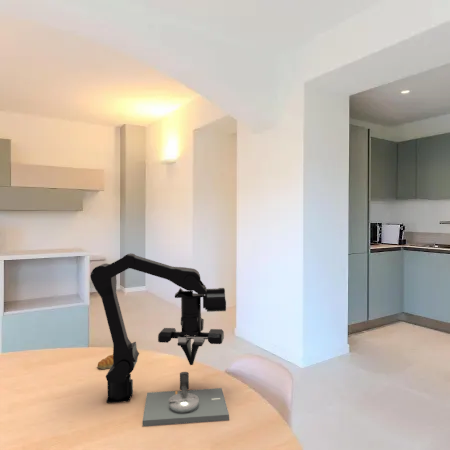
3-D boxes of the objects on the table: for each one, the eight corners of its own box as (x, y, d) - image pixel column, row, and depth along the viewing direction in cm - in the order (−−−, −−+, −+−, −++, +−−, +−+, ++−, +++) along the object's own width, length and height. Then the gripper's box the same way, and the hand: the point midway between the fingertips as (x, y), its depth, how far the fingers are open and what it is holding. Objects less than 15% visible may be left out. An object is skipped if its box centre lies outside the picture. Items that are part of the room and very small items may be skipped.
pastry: (103, 372, 134) (103, 361, 134) (93, 367, 139) (93, 356, 139) (127, 364, 141) (127, 354, 141) (116, 360, 146) (116, 350, 146)
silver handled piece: (199, 411, 102) (198, 394, 102) (168, 413, 102) (168, 395, 102) (197, 386, 118) (197, 371, 118) (170, 388, 117) (170, 372, 117)
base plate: (142, 426, 99) (142, 419, 99) (147, 397, 115) (147, 391, 115) (229, 420, 102) (229, 413, 102) (221, 392, 117) (221, 387, 117)
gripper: (225, 306, 122) (226, 356, 123) (167, 305, 125) (168, 354, 125) (221, 315, 111) (221, 369, 112) (157, 313, 114) (157, 367, 114)
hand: (191, 364), depth 116 cm, fingers closed
